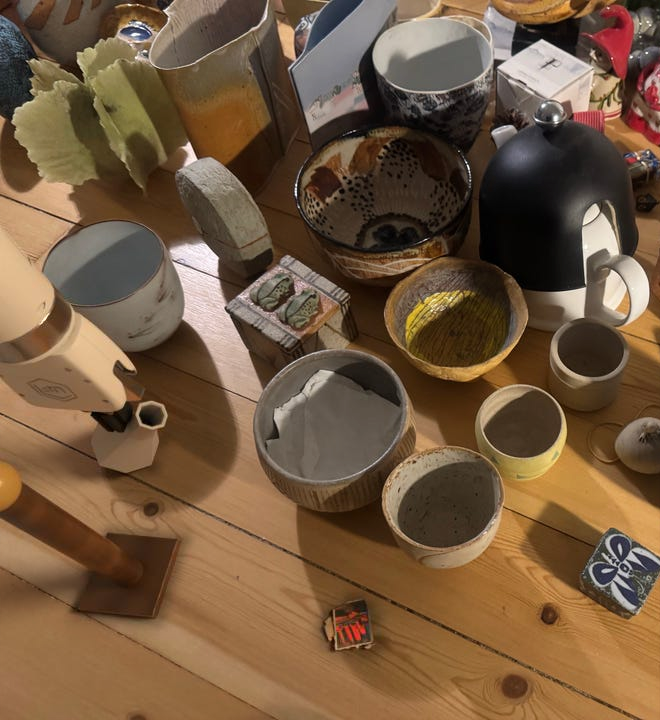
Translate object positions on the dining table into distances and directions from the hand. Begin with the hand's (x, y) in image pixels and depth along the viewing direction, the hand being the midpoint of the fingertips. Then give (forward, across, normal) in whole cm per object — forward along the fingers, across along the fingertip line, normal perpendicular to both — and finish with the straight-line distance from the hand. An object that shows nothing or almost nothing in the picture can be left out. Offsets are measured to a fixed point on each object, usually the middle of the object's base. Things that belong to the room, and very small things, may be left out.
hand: (121, 419), depth 76 cm
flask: (+6, -3, 0) cm, 7 cm away
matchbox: (+8, +27, -17) cm, 33 cm away
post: (+8, +3, -14) cm, 16 cm away
